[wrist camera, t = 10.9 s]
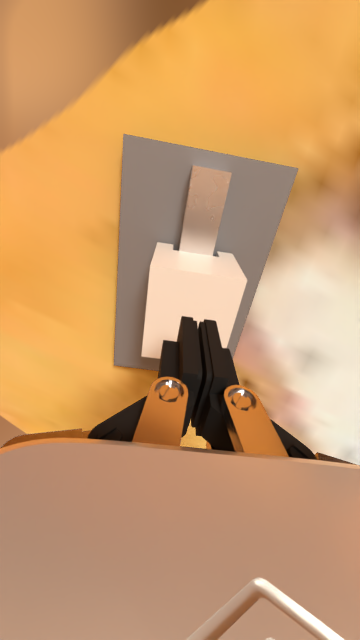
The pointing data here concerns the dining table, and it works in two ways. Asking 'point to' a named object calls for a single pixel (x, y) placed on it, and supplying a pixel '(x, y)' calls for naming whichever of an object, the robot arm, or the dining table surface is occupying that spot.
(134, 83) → the dining table surface
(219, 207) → the rail
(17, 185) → the dining table surface
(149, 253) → the mounting board
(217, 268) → the block
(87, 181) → the dining table surface
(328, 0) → the dining table surface
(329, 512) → the robot arm
